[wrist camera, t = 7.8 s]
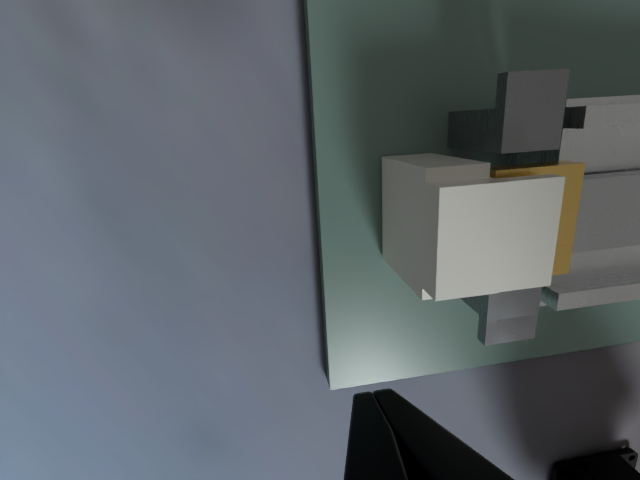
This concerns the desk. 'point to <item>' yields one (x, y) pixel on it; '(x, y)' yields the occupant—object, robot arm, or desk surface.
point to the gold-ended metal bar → (588, 208)
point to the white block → (467, 226)
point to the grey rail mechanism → (547, 146)
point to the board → (431, 137)
